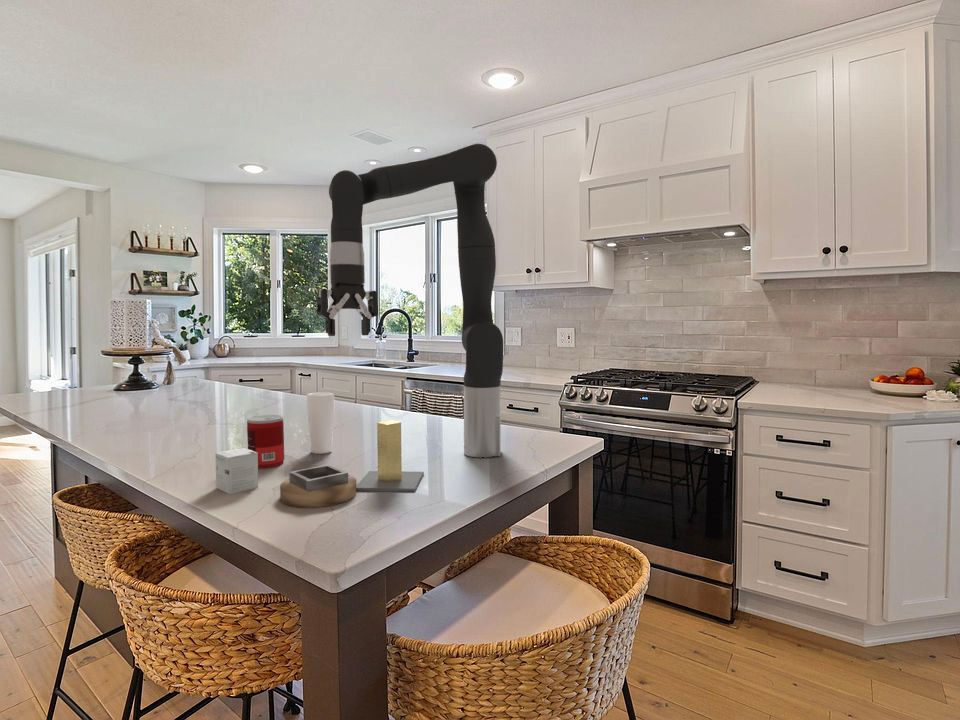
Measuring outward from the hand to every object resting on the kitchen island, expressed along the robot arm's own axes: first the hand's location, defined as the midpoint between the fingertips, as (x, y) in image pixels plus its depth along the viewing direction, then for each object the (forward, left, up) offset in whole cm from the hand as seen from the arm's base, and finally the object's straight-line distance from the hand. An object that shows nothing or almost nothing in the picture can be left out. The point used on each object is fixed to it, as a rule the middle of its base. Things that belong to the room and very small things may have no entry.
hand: (348, 335), depth 124 cm
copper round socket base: (0, +22, -30) cm, 37 cm away
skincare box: (+18, +18, -30) cm, 40 cm away
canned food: (+20, 0, -30) cm, 36 cm away
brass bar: (-12, +13, -29) cm, 34 cm away
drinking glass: (+11, -12, -30) cm, 34 cm away
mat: (-12, +13, -30) cm, 35 cm away
